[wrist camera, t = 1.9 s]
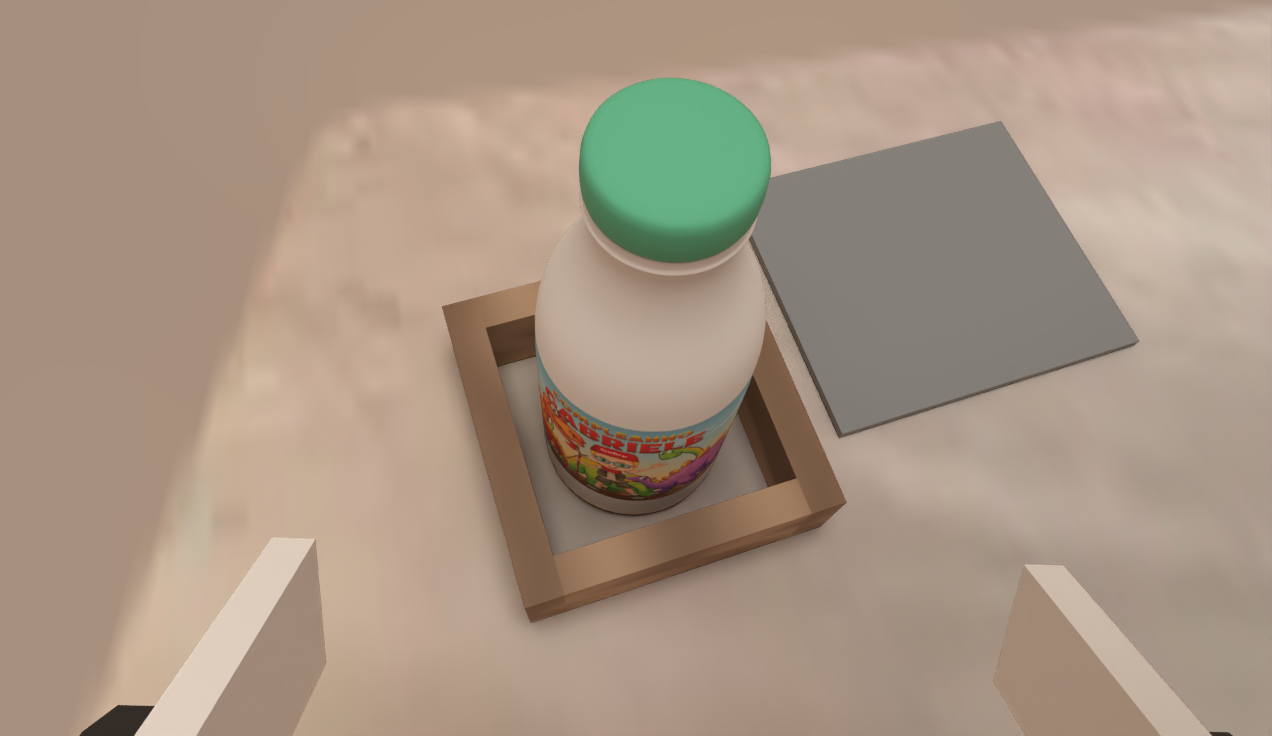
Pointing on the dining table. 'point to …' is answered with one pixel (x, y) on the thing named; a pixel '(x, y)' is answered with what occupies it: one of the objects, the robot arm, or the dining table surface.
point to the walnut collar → (662, 549)
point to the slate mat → (929, 276)
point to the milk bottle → (653, 295)
